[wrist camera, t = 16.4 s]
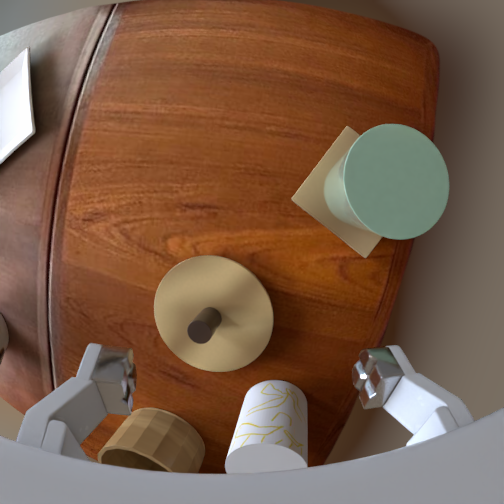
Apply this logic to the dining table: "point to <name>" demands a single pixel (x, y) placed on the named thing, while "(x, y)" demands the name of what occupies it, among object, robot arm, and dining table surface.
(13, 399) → the dining table surface
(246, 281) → the basket lid
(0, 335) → the sugar bowl
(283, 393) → the white cylinder
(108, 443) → the basket
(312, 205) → the stand
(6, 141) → the plate
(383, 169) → the canister
